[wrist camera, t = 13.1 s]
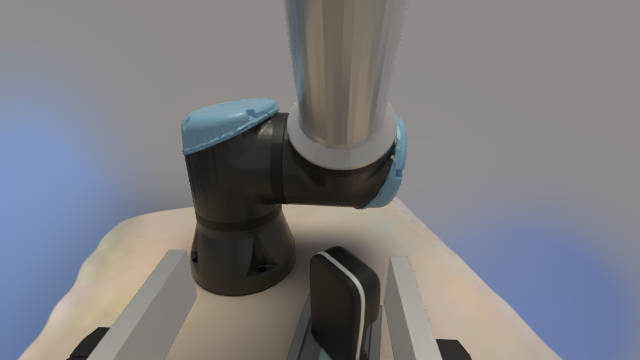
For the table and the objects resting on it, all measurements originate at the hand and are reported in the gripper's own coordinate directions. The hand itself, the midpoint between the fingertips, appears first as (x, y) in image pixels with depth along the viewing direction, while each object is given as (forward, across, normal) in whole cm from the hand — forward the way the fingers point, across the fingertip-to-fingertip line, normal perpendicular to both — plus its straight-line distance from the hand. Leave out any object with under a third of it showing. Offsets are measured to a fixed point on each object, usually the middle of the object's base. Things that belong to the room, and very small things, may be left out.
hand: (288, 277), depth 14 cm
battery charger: (+12, +3, -20) cm, 24 cm away
